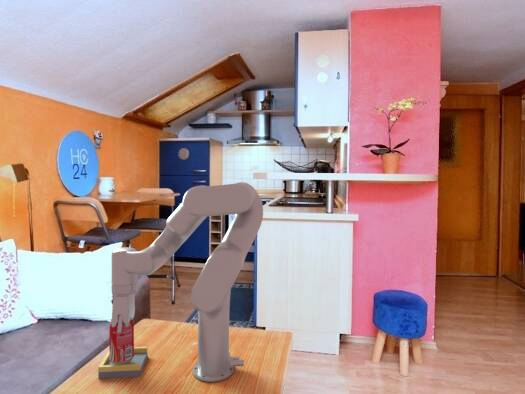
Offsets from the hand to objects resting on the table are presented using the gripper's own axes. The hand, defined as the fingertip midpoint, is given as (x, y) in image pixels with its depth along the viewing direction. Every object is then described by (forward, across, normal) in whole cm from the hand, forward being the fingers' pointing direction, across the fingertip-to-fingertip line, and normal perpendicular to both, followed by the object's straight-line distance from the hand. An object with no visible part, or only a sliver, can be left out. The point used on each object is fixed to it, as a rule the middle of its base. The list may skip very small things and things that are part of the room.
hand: (124, 344), depth 118 cm
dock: (+7, 0, 0) cm, 7 cm away
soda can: (+4, +2, 0) cm, 5 cm away
